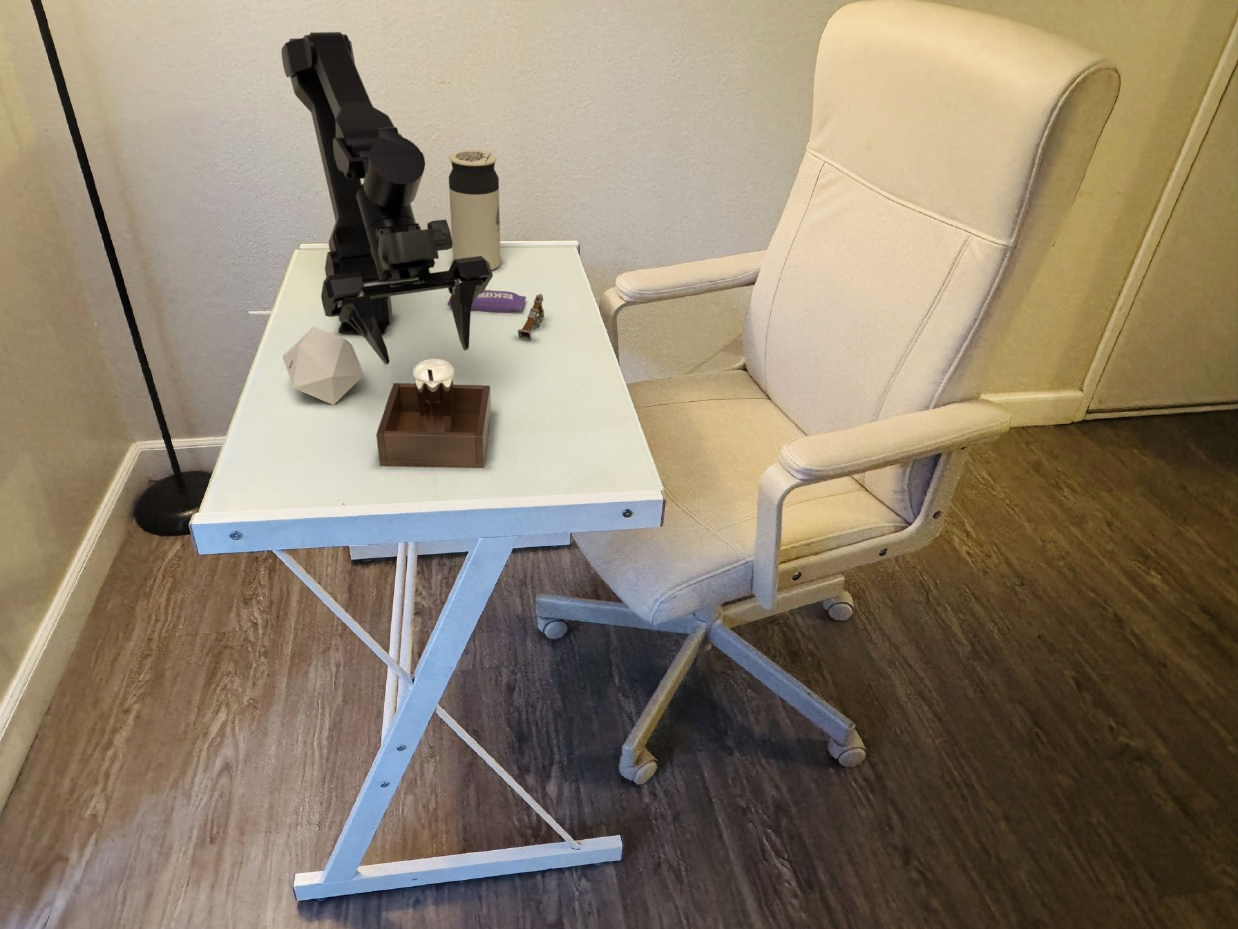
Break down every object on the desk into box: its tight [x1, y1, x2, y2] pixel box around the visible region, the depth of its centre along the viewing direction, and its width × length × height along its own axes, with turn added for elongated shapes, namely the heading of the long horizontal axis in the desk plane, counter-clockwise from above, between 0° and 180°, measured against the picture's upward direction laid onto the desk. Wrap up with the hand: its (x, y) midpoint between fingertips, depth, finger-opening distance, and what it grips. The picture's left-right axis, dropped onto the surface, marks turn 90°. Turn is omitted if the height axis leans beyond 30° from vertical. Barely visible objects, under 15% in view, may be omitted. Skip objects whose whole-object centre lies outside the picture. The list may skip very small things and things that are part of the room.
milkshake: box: [412, 358, 455, 432], centre depth 99 cm, size 4×5×10 cm
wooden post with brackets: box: [517, 293, 545, 342], centre depth 127 cm, size 2×8×4 cm, turn 165°
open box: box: [375, 382, 492, 468], centre depth 101 cm, size 12×12×4 cm
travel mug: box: [448, 150, 501, 271], centre depth 142 cm, size 8×8×18 cm
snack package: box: [447, 289, 527, 313], centre depth 133 cm, size 12×2×5 cm
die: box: [282, 326, 365, 406], centre depth 107 cm, size 8×9×10 cm
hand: (427, 356), depth 98 cm, fingers open, 9 cm apart
